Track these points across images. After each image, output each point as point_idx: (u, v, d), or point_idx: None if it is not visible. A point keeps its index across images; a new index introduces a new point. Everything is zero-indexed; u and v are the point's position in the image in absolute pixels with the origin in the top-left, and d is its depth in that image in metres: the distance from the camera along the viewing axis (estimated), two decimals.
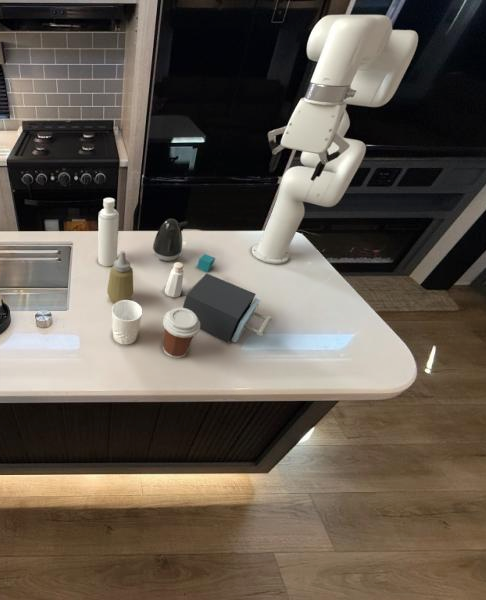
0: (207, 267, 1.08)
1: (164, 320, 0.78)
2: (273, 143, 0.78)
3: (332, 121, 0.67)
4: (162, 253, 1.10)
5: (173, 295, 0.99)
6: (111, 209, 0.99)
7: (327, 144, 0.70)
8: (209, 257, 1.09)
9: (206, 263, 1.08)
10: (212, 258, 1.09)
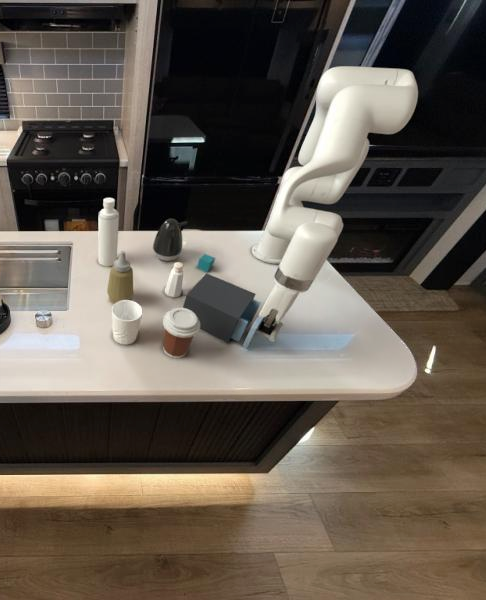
0: (207, 267, 1.08)
1: (164, 320, 0.78)
2: (273, 321, 0.78)
3: None
4: (162, 253, 1.10)
5: (173, 295, 0.99)
6: (111, 209, 0.99)
7: None
8: (209, 257, 1.09)
9: (206, 263, 1.08)
10: (212, 258, 1.09)
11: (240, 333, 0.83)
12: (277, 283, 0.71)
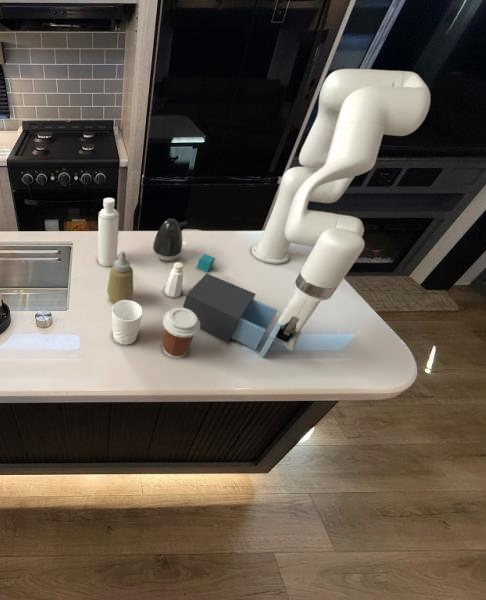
0: (207, 267, 1.08)
1: (164, 320, 0.78)
2: (293, 328, 0.76)
3: None
4: (162, 253, 1.10)
5: (173, 295, 0.99)
6: (111, 209, 0.99)
7: None
8: (209, 257, 1.09)
9: (206, 263, 1.08)
10: (212, 258, 1.09)
11: (257, 341, 0.81)
12: (298, 290, 0.69)
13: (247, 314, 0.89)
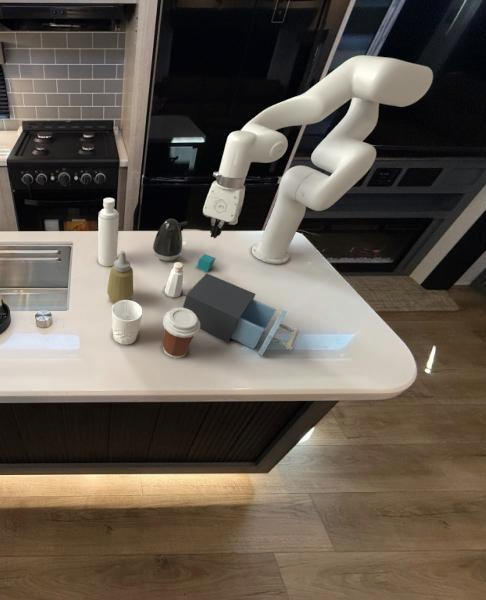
0: (207, 267, 1.08)
1: (164, 320, 0.78)
2: None
3: None
4: (162, 253, 1.10)
5: (173, 295, 0.99)
6: (111, 209, 0.99)
7: None
8: (209, 257, 1.09)
9: (206, 263, 1.08)
10: (212, 258, 1.09)
11: (255, 340, 0.81)
12: (236, 189, 0.88)
13: (246, 313, 0.89)
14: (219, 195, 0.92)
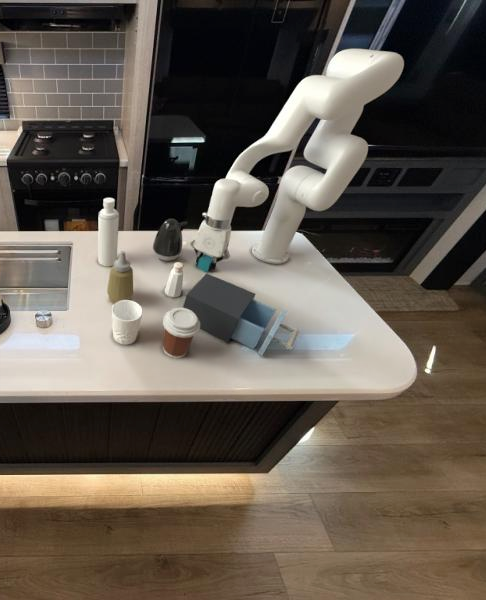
0: (207, 267, 1.08)
1: (164, 320, 0.78)
2: None
3: None
4: (162, 253, 1.10)
5: (173, 295, 0.99)
6: (111, 209, 0.99)
7: None
8: (209, 257, 1.09)
9: (206, 263, 1.08)
10: (212, 258, 1.09)
11: (255, 340, 0.81)
12: (223, 229, 0.97)
13: (246, 313, 0.89)
14: (208, 233, 1.01)
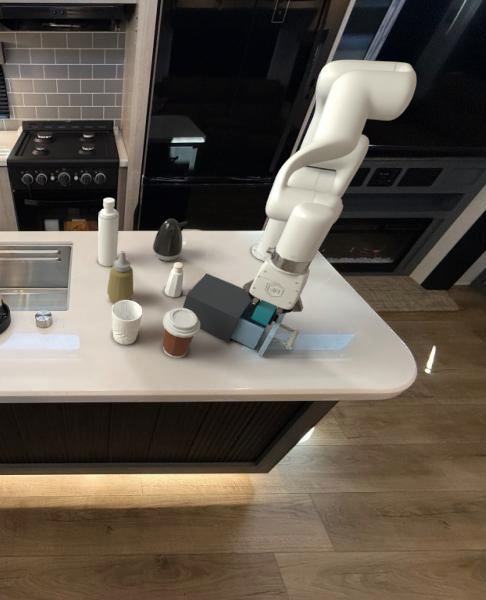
0: (267, 320, 0.79)
1: (164, 320, 0.78)
2: None
3: None
4: (162, 253, 1.10)
5: (173, 295, 0.99)
6: (111, 209, 0.99)
7: None
8: (269, 305, 0.80)
9: (266, 314, 0.78)
10: (273, 307, 0.79)
11: (255, 341, 0.81)
12: (300, 274, 0.68)
13: (246, 313, 0.89)
14: (274, 277, 0.71)
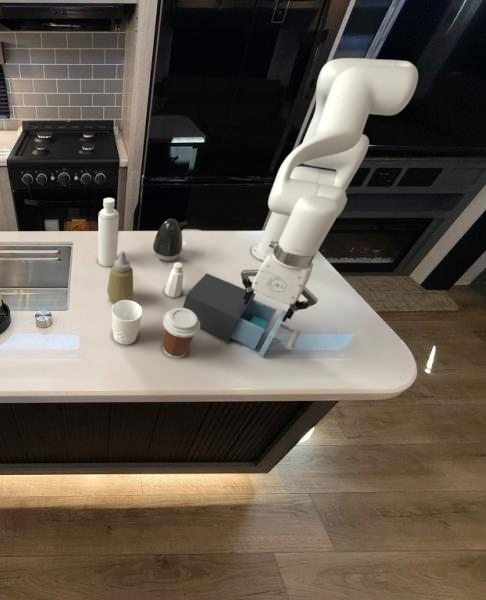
0: None
1: (164, 320, 0.78)
2: None
3: None
4: (162, 253, 1.10)
5: (173, 295, 0.99)
6: (111, 209, 0.99)
7: None
8: (261, 321, 0.84)
9: None
10: (265, 323, 0.83)
11: (256, 341, 0.81)
12: (303, 268, 0.67)
13: (246, 314, 0.89)
14: (277, 272, 0.70)
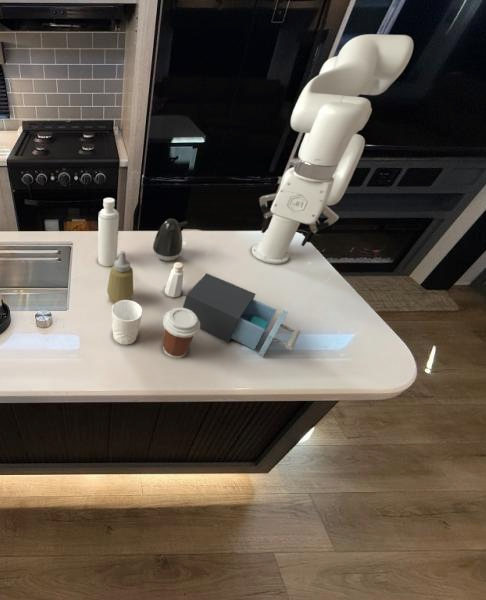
0: None
1: (164, 320, 0.78)
2: None
3: None
4: (162, 253, 1.10)
5: (173, 295, 0.99)
6: (111, 209, 0.99)
7: None
8: (261, 321, 0.84)
9: None
10: (265, 323, 0.83)
11: (256, 341, 0.81)
12: (325, 180, 0.67)
13: (246, 314, 0.89)
14: (298, 189, 0.70)
